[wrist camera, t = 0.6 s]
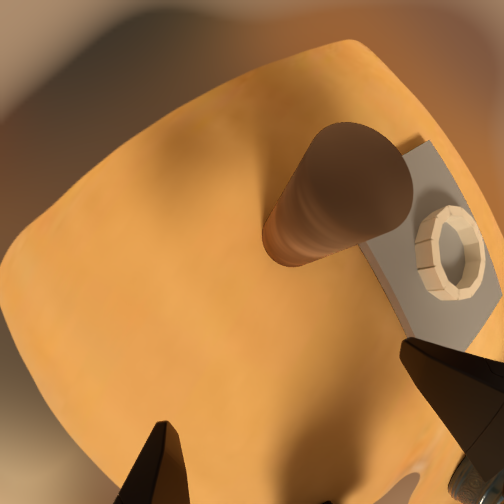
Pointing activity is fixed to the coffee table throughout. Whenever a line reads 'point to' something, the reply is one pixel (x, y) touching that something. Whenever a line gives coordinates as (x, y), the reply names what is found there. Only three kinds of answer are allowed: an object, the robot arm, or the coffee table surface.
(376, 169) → the walnut column
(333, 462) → the coffee table surface
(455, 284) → the base board
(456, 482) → the canister
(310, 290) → the coffee table surface
